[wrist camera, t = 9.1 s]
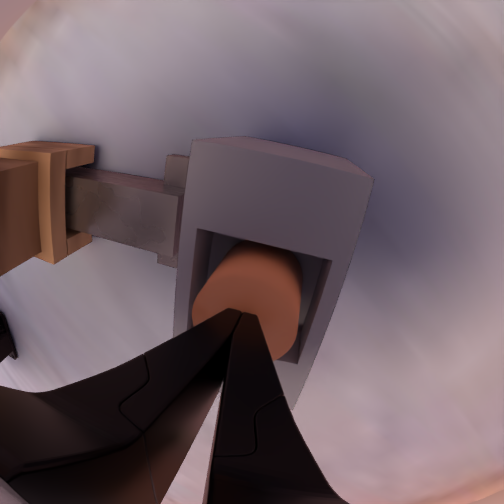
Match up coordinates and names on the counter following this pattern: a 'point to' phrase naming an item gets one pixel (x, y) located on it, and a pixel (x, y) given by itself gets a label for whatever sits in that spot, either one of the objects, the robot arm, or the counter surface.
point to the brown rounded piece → (256, 291)
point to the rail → (129, 207)
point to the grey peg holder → (272, 228)
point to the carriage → (37, 202)
